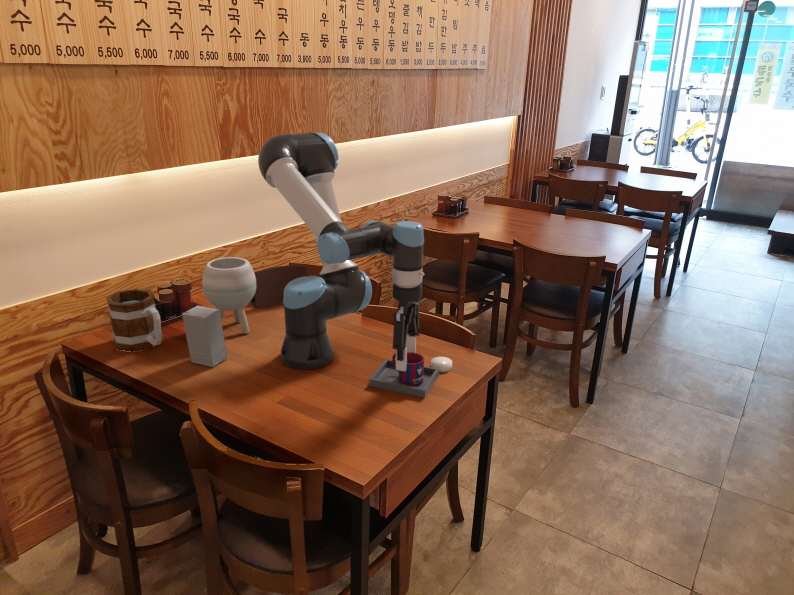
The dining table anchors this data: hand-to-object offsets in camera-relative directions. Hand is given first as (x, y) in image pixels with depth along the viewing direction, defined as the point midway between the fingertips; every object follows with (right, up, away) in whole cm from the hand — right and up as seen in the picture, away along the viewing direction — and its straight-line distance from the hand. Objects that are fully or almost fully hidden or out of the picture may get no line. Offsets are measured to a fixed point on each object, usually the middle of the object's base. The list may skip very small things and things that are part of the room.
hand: (405, 363), depth 156 cm
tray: (0, -5, +2) cm, 5 cm away
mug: (-79, +3, +19) cm, 81 cm away
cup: (0, -4, +3) cm, 5 cm away
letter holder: (-45, +17, +56) cm, 74 cm away
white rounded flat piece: (+10, -2, +10) cm, 15 cm away
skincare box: (-57, -1, +11) cm, 58 cm away
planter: (-55, +7, +31) cm, 63 cm away
